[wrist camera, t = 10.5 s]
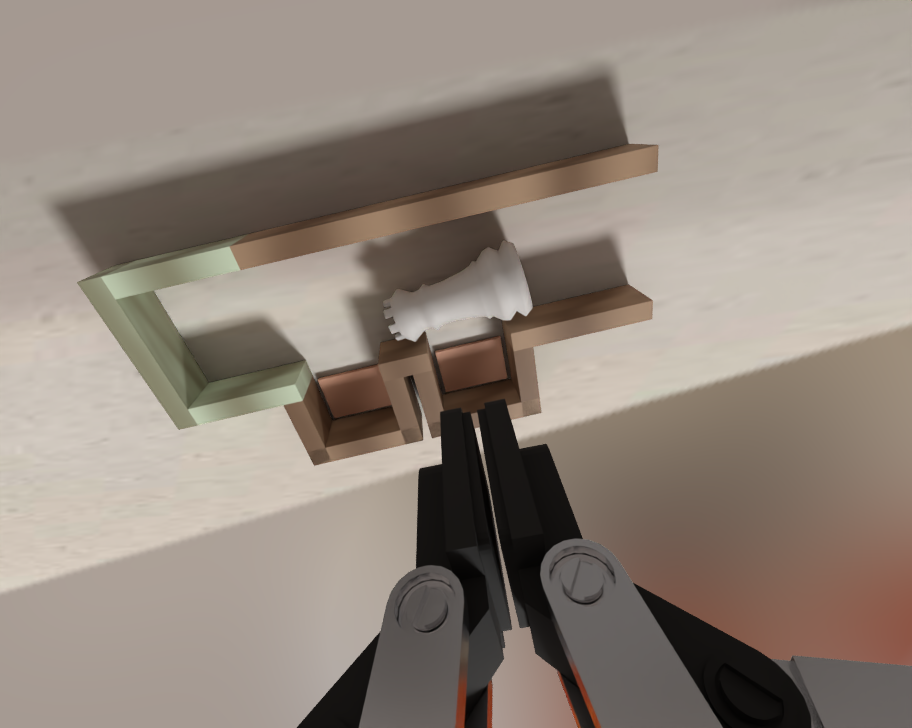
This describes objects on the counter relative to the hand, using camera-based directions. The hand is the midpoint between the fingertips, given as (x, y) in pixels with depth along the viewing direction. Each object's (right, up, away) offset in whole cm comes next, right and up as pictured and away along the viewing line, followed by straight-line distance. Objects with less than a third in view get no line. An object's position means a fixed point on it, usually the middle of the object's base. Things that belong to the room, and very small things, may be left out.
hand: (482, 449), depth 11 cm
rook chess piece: (+3, +7, +13) cm, 15 cm away
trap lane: (-4, +5, +16) cm, 17 cm away
